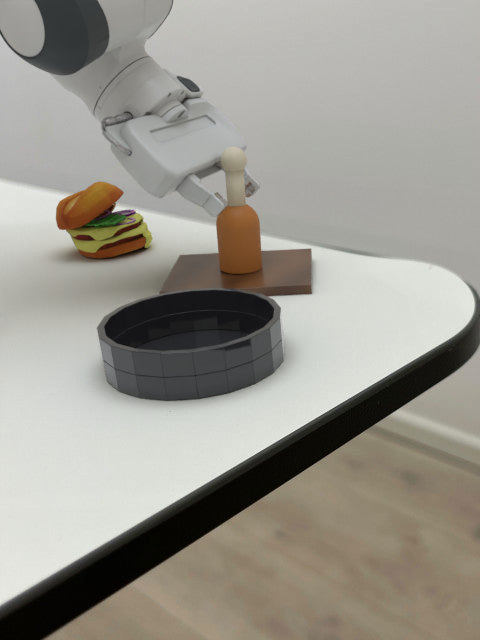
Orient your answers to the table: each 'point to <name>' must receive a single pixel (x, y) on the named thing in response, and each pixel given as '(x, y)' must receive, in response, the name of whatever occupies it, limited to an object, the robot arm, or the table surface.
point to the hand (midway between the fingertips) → (239, 201)
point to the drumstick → (237, 220)
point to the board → (245, 274)
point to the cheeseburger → (101, 222)
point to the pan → (191, 343)
